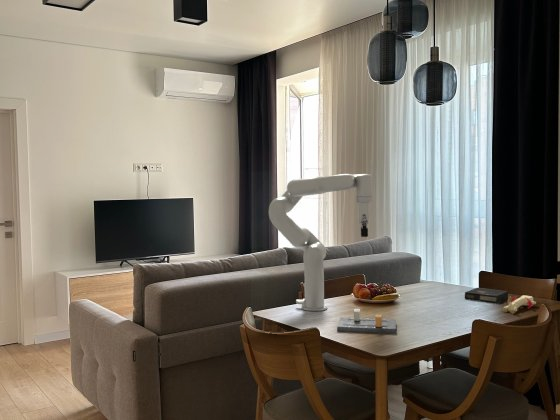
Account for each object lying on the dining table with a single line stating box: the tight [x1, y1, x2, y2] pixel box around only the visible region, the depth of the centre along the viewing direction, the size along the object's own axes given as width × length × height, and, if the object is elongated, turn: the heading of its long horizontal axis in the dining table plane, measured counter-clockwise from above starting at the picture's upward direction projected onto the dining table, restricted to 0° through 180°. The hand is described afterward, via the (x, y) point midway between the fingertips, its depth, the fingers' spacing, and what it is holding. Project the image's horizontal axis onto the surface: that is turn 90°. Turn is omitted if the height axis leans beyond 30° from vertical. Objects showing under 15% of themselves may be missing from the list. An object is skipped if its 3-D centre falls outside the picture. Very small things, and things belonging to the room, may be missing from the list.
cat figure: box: [501, 295, 537, 314], centre depth 270 cm, size 10×9×25 cm
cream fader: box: [353, 308, 361, 321], centre depth 244 cm, size 2×4×4 cm, turn 169°
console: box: [336, 317, 397, 335], centre depth 239 cm, size 24×16×2 cm, turn 79°
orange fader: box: [375, 314, 383, 327], centre depth 233 cm, size 2×4×4 cm, turn 168°
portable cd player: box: [464, 287, 509, 304], centre depth 293 cm, size 16×17×4 cm
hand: (364, 235), depth 267 cm, fingers open, 9 cm apart
